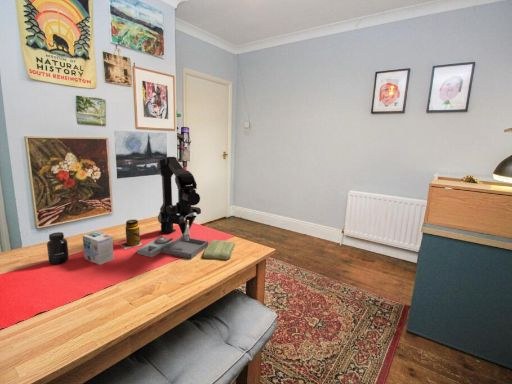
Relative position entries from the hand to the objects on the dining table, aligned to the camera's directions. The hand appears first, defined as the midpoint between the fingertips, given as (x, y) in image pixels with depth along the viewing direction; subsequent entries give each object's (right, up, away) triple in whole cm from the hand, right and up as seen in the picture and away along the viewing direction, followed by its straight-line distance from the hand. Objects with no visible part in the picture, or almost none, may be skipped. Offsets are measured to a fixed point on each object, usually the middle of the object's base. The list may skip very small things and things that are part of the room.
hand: (185, 232), depth 126 cm
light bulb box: (-34, -10, -11) cm, 37 cm away
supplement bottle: (-49, -10, -14) cm, 52 cm away
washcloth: (+16, -10, +2) cm, 19 cm away
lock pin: (0, -4, +1) cm, 4 cm away
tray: (0, -8, +2) cm, 9 cm away
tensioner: (-14, -8, +1) cm, 16 cm away
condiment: (-28, -7, +5) cm, 29 cm away
